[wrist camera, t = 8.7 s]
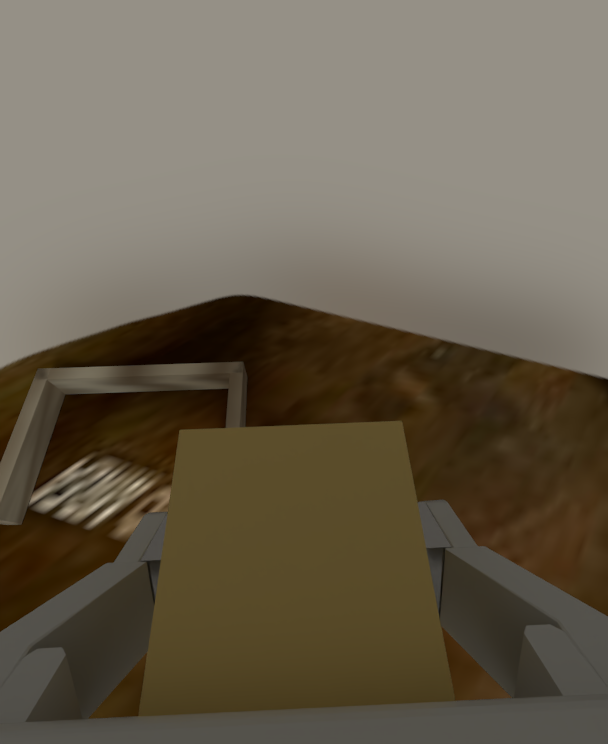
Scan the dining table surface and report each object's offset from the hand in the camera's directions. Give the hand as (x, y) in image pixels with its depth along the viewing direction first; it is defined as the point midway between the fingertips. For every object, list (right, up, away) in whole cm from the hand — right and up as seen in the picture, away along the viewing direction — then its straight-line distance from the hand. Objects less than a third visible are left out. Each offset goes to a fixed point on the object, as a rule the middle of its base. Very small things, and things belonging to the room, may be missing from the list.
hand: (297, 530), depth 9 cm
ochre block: (0, -3, +4) cm, 5 cm away
